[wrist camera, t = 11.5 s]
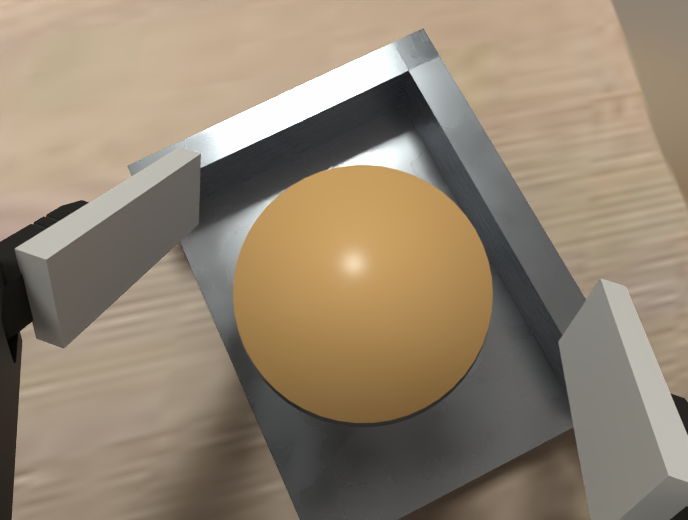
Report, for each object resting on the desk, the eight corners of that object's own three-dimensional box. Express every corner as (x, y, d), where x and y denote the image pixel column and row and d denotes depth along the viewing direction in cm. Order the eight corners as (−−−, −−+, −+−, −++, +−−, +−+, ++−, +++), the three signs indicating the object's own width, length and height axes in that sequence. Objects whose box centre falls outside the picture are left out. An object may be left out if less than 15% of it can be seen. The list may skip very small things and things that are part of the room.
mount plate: (169, 199, 24) (127, 165, 20) (411, 85, 25) (423, 28, 21) (321, 546, 21) (310, 599, 16) (595, 402, 22) (655, 416, 17)
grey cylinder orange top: (278, 294, 22) (180, 229, 10) (387, 240, 22) (418, 112, 10) (332, 409, 21) (296, 487, 9) (446, 349, 21) (557, 350, 9)
